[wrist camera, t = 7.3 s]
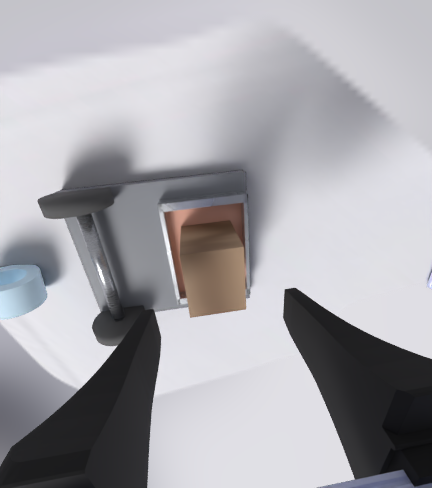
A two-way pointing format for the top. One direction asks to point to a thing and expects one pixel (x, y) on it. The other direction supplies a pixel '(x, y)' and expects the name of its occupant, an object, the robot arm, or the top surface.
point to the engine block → (212, 268)
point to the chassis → (144, 239)
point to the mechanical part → (20, 290)
